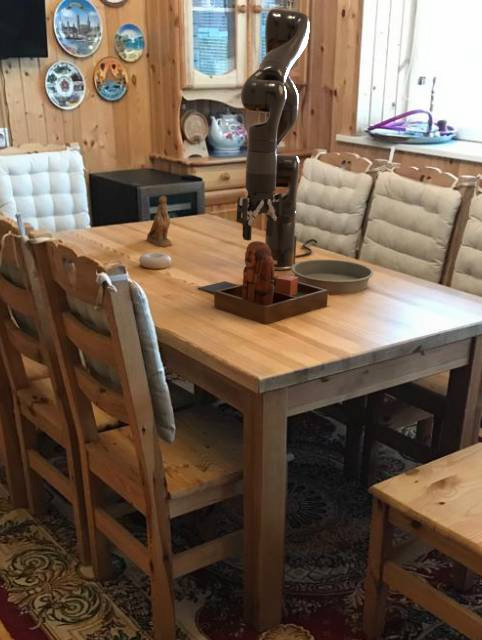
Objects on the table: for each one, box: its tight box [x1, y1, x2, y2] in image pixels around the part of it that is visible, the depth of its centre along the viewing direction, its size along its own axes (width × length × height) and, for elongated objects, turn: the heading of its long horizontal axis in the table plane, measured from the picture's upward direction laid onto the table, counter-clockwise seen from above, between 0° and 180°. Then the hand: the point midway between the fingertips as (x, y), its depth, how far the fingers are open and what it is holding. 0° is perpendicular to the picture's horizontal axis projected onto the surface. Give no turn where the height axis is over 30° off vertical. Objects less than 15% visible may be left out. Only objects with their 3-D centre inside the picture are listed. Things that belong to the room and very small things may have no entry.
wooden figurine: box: [242, 240, 275, 306], centre depth 214 cm, size 12×6×18 cm, turn 31°
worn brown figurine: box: [146, 194, 172, 247], centre depth 279 cm, size 12×6×18 cm, turn 26°
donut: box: [138, 252, 172, 270], centre depth 255 cm, size 10×3×10 cm
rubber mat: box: [197, 280, 238, 295], centre depth 235 cm, size 11×11×1 cm
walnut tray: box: [213, 275, 329, 325], centre depth 221 cm, size 25×19×4 cm
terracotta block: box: [276, 274, 298, 296], centre depth 224 cm, size 4×4×4 cm
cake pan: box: [290, 259, 374, 295], centre depth 244 cm, size 25×25×4 cm
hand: (258, 237), depth 209 cm, fingers open, 8 cm apart
